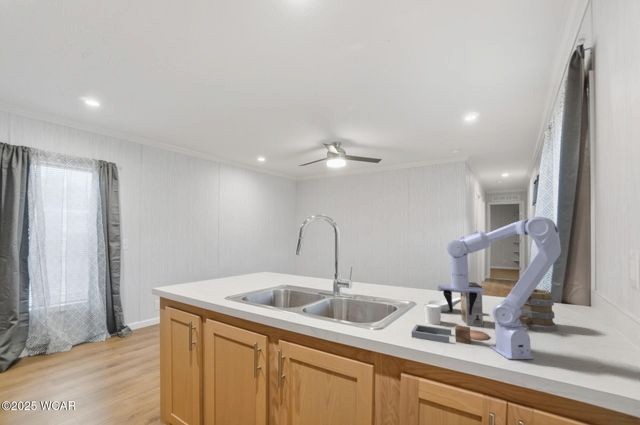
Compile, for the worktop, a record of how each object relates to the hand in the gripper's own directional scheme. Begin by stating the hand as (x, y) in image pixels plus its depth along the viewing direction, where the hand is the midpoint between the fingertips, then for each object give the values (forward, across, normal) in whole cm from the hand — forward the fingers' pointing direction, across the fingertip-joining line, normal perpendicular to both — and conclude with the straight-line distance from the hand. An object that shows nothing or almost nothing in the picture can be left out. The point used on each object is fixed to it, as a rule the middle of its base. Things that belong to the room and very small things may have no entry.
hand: (460, 313), depth 103 cm
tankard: (+10, -23, -29) cm, 38 cm away
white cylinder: (+10, +12, -17) cm, 23 cm away
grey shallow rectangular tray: (+9, +10, 0) cm, 13 cm away
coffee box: (+10, -3, -24) cm, 26 cm away
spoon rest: (+10, +5, -40) cm, 41 cm away
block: (+10, 0, 0) cm, 10 cm away
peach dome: (+9, -4, -8) cm, 13 cm away
